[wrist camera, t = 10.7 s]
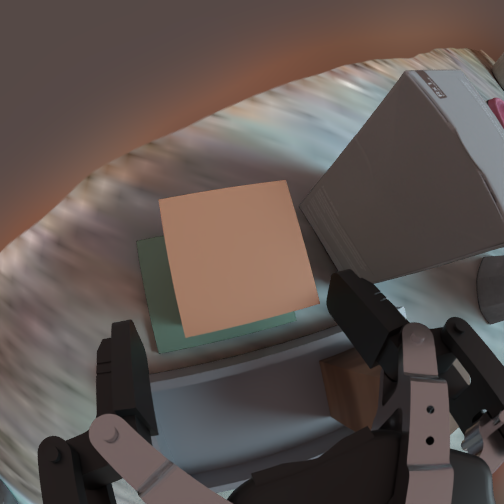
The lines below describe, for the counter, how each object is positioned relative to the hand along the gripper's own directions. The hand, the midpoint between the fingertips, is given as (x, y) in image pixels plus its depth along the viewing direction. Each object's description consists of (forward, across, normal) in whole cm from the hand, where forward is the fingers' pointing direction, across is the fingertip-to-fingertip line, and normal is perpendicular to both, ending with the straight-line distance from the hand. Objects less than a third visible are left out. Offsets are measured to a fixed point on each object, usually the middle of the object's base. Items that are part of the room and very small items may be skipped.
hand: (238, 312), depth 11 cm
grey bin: (+1, -4, +12) cm, 13 cm away
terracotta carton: (+8, 0, +5) cm, 9 cm away
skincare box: (+10, -12, +4) cm, 16 cm away
